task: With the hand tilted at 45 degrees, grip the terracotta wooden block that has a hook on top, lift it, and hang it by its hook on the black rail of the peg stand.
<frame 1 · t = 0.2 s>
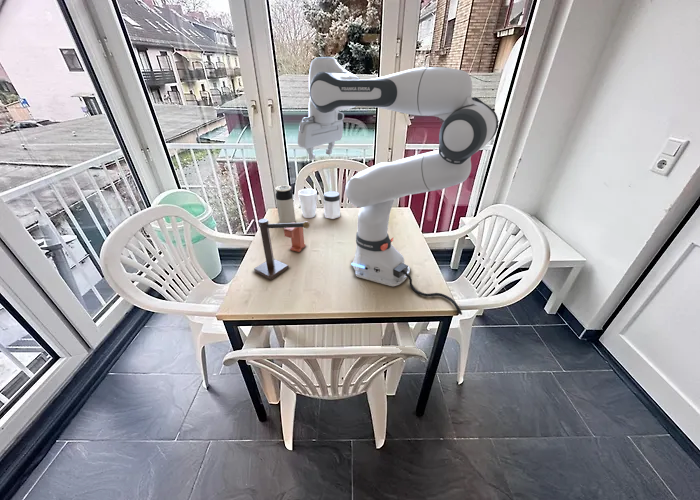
hand: (320, 156, 103), 39 cm above the table, tool pointing down, fingers open, 8 cm apart
travel mug: (287, 222, 144), on the table
jar: (332, 215, 151), on the table
hook block: (298, 247, 123), on the table
peg stand: (271, 270, 110), on the table
foam cup: (309, 215, 151), on the table
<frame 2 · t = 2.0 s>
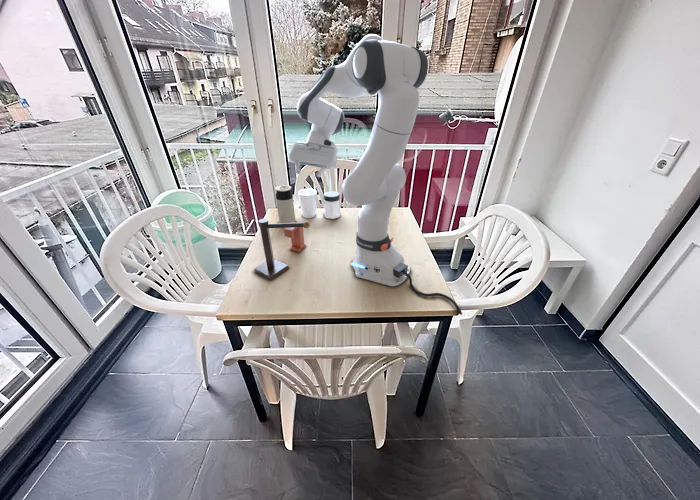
hand: (307, 174, 117), 29 cm above the table, tool tilted 45°, fingers open, 8 cm apart
nothing on the table moved.
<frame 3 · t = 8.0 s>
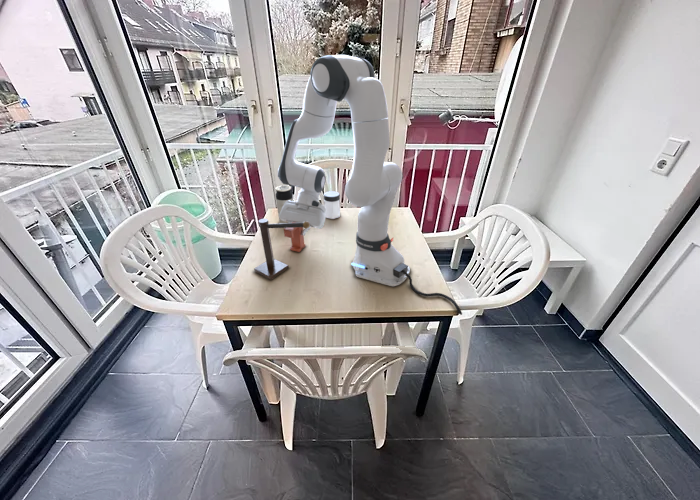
hand: (296, 233, 119), 7 cm above the table, tool tilted 45°, fingers closed on hook block, 4 cm apart
hook block: (298, 247, 123), on the table, touching gripper
everything else where it was.
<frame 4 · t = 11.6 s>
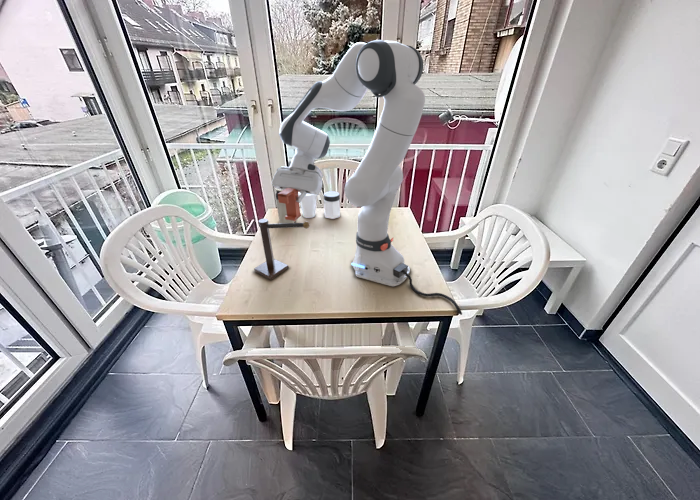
hand: (291, 201, 110), 22 cm above the table, tool tilted 45°, fingers closed on hook block, 4 cm apart
hook block: (293, 217, 114), point 15 cm above the table, touching gripper
everything else where it was.
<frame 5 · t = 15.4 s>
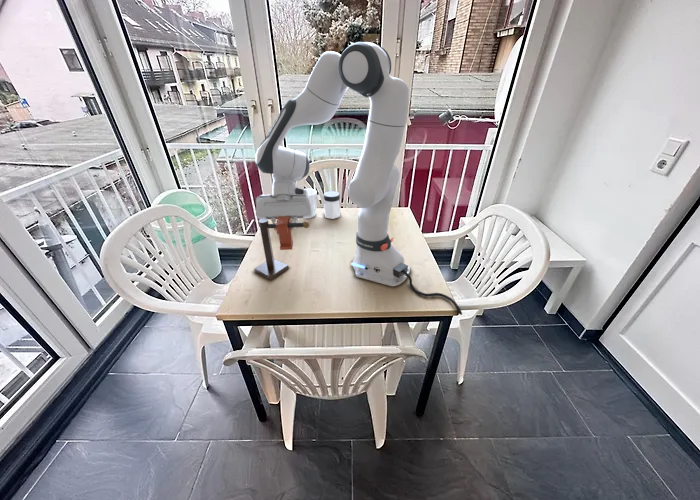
hand: (284, 229, 104), 16 cm above the table, tool tilted 45°, fingers closed on hook block, 4 cm apart
hook block: (286, 245, 108), point 9 cm above the table, touching gripper, peg stand
everything else where it was.
when the fingers open (16 cm above the table, at t = 15.6 s): hook block moves 5 cm, resting on peg stand.
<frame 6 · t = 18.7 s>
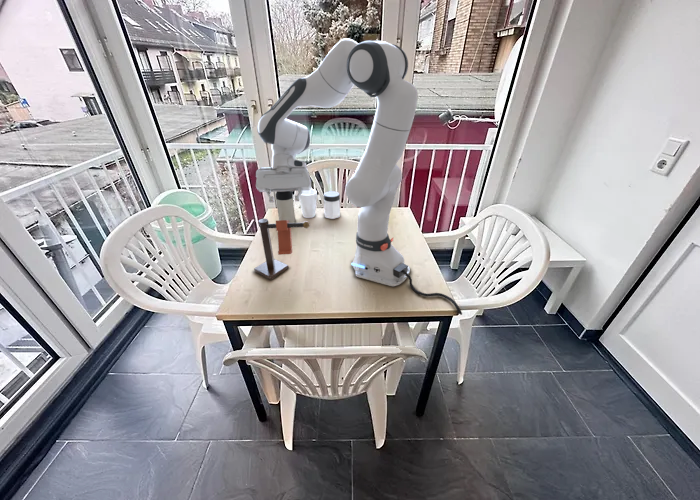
hand: (284, 201, 106), 24 cm above the table, tool tilted 45°, fingers open, 8 cm apart
hook block: (285, 253, 104), point 9 cm above the table, tilted 27°, touching peg stand
everything else where it was.
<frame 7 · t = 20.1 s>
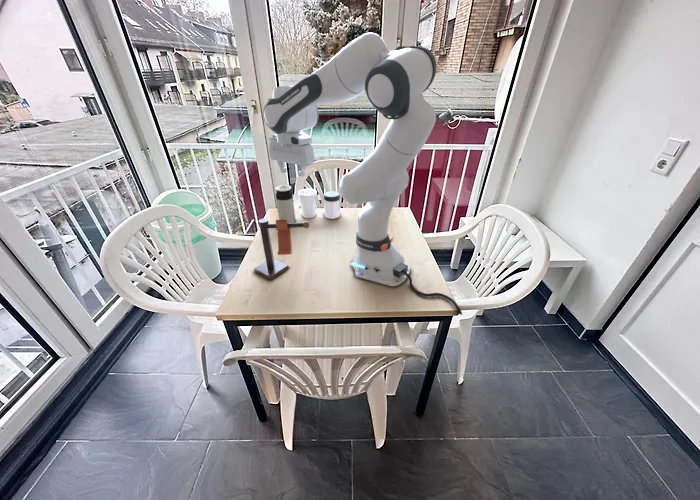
hand: (292, 174, 112), 31 cm above the table, tool pointing down, fingers open, 8 cm apart
nothing on the table moved.
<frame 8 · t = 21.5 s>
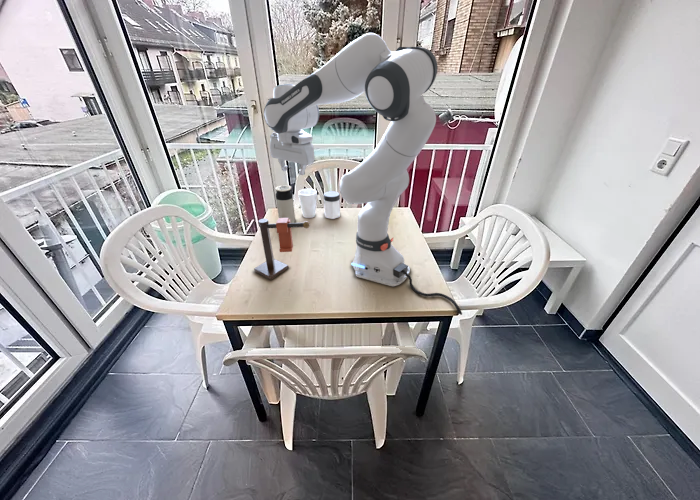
hand: (293, 172, 112), 31 cm above the table, tool pointing down, fingers open, 8 cm apart
hook block: (286, 249, 107), point 8 cm above the table, tilted 11°, touching peg stand
everything else where it was.
at the end: hook block touching peg stand; hook block point 9.9 cm above the table; the gripper is holding nothing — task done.
